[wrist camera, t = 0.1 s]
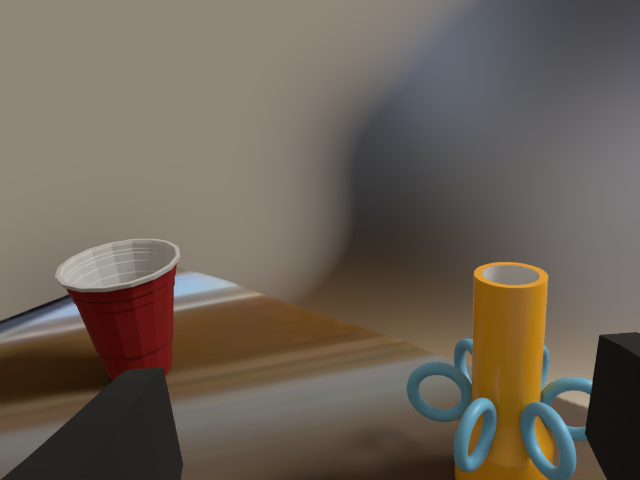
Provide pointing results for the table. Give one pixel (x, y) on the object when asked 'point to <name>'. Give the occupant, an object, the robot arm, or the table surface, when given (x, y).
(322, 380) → the table surface
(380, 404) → the table surface
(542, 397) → the cylinder
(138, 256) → the plastic cup
